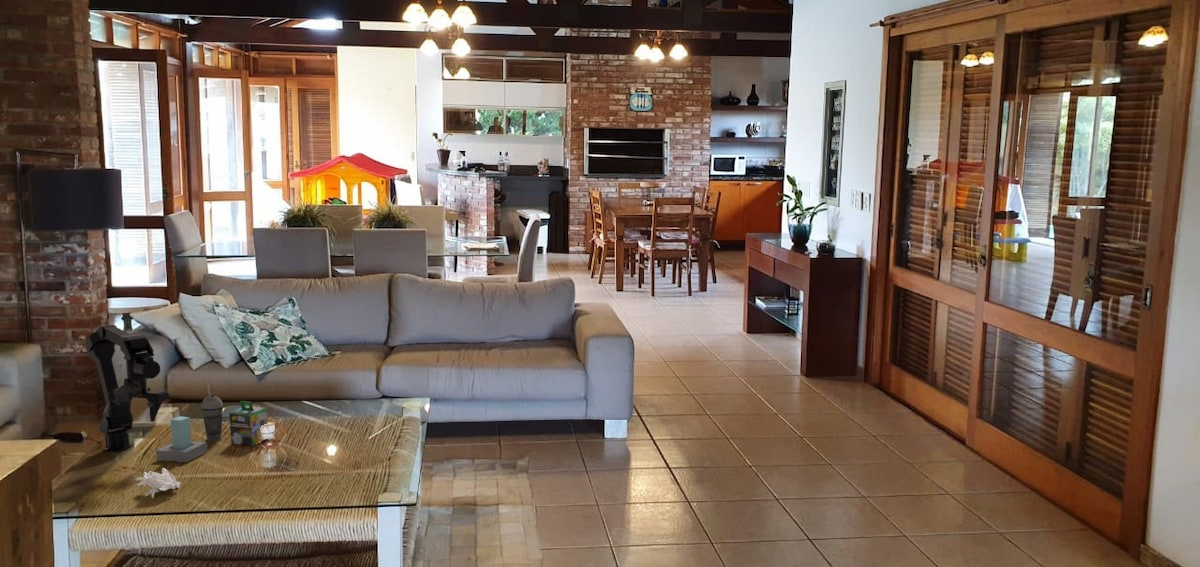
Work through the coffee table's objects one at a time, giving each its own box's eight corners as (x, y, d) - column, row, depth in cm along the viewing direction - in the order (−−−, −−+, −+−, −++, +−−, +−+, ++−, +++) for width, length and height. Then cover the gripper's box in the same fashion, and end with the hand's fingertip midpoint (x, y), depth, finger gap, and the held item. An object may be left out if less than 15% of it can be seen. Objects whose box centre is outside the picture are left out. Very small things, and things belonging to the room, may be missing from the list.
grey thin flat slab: (254, 415, 356) (212, 418, 352) (255, 420, 356) (212, 423, 353) (262, 402, 375) (221, 404, 372) (262, 407, 375) (222, 409, 372)
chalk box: (269, 439, 331) (267, 398, 329) (252, 447, 322) (249, 404, 320) (248, 436, 334) (245, 396, 332) (230, 444, 325) (227, 402, 323)
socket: (156, 460, 308) (156, 450, 308) (178, 450, 319) (177, 440, 318) (186, 462, 306) (185, 452, 305) (207, 452, 316) (206, 442, 316)
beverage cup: (217, 442, 327) (213, 386, 324) (198, 441, 328) (194, 385, 325) (229, 436, 334) (226, 381, 331) (211, 435, 335) (207, 380, 332)
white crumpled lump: (152, 483, 270) (133, 466, 277) (147, 505, 271) (128, 488, 278) (191, 479, 280) (172, 463, 287) (187, 500, 281) (168, 484, 288)
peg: (173, 457, 311) (170, 419, 309) (182, 454, 315) (179, 416, 313) (182, 458, 310) (180, 420, 308) (191, 455, 313) (189, 417, 312)
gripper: (93, 378, 300) (97, 426, 302) (145, 381, 296) (148, 429, 298) (118, 370, 311) (121, 416, 313) (168, 373, 307) (171, 419, 309)
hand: (140, 420), depth 308 cm, fingers open, 9 cm apart
